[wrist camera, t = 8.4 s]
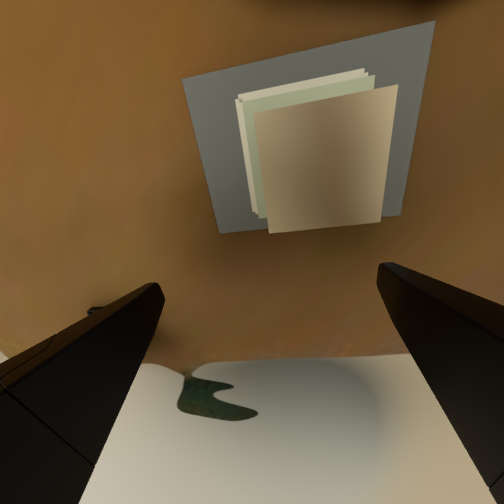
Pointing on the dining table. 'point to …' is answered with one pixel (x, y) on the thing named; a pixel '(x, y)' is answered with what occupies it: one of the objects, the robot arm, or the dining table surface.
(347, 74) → the slate mat
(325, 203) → the birch cube
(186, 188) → the dining table surface
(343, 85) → the sage block
